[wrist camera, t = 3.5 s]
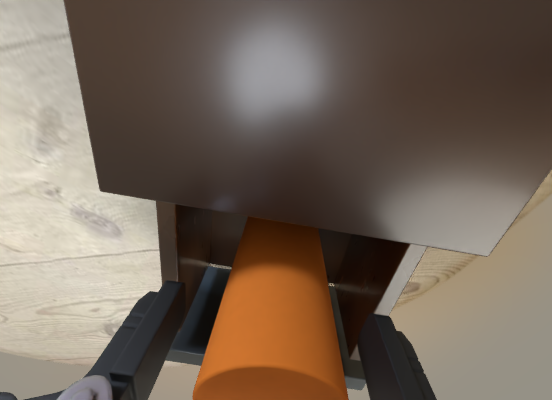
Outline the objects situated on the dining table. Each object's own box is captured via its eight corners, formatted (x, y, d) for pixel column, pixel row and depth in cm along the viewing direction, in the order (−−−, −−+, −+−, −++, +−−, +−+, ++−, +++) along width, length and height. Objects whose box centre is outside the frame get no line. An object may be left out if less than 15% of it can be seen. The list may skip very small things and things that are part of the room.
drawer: (337, 307, 21) (355, 401, 15) (194, 284, 21) (154, 370, 15) (413, 122, 14) (507, 157, 8) (196, 83, 14) (120, 87, 7)
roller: (308, 261, 17) (326, 454, 9) (242, 250, 17) (191, 434, 8) (325, 203, 15) (373, 381, 6) (250, 190, 15) (191, 353, 6)
